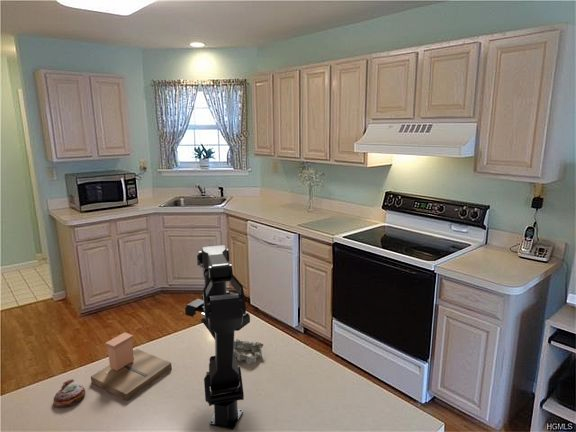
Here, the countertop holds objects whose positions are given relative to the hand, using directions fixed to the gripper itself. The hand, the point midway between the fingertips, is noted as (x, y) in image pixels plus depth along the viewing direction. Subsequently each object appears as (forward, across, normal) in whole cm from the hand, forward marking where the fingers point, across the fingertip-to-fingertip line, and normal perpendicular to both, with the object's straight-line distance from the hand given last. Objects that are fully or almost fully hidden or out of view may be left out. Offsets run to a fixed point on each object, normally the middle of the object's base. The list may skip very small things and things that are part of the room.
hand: (218, 341), depth 112 cm
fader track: (+12, +23, +11) cm, 28 cm away
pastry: (+12, +30, +26) cm, 42 cm away
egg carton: (+12, +1, -13) cm, 18 cm away
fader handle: (+10, +27, +11) cm, 31 cm away
